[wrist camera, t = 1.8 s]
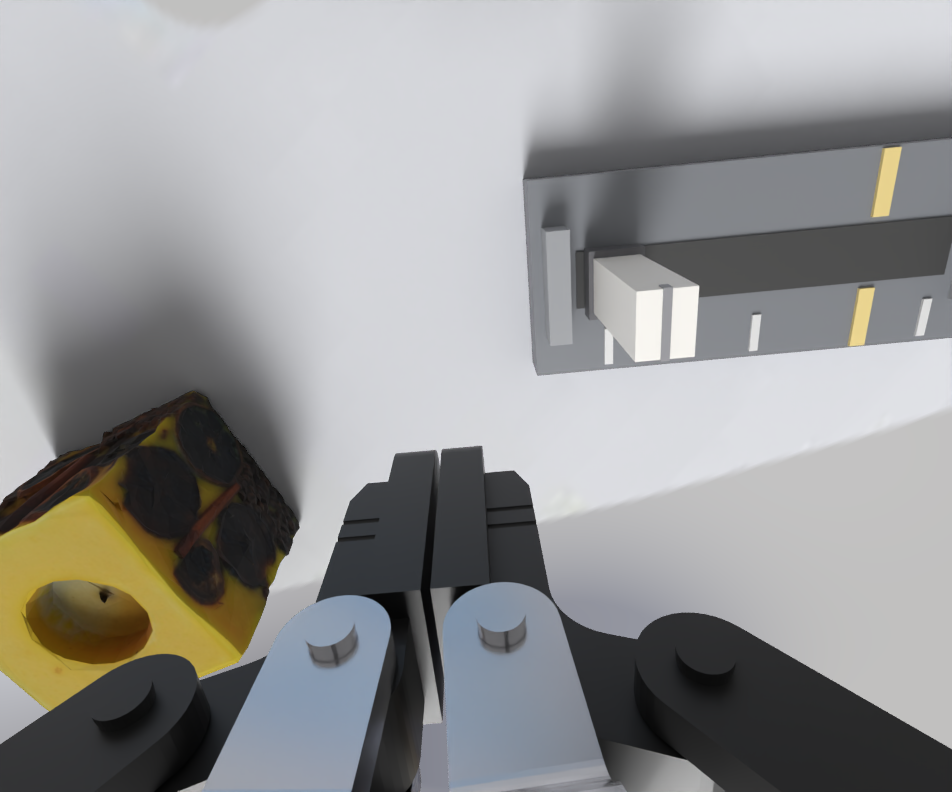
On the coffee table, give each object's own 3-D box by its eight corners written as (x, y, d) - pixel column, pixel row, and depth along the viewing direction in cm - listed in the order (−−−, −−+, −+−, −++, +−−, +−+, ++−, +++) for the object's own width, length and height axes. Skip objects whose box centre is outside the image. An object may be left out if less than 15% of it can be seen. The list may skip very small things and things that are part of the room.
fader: (584, 248, 25) (630, 283, 18) (638, 243, 25) (706, 275, 18) (585, 314, 26) (629, 371, 19) (637, 309, 26) (700, 364, 19)
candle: (53, 457, 31) (-121, 582, 22) (200, 381, 29) (79, 481, 20) (170, 585, 35) (63, 738, 26) (307, 523, 33) (245, 663, 24)
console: (522, 179, 26) (531, 182, 22) (982, 134, 25) (1060, 130, 22) (532, 362, 29) (541, 387, 26) (936, 324, 29) (997, 346, 26)
